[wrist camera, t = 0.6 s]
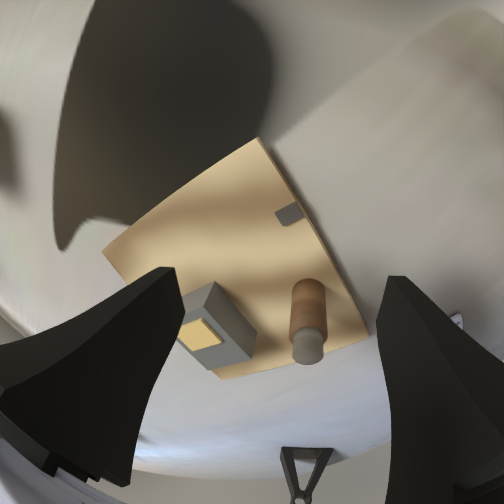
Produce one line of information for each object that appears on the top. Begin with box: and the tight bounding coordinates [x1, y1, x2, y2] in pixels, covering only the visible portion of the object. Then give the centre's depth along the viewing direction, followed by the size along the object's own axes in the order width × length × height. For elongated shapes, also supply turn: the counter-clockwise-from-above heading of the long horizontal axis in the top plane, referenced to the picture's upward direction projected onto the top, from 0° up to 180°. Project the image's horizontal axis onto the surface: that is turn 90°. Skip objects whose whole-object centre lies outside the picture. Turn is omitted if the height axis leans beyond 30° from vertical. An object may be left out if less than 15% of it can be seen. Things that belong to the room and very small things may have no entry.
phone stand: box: [280, 447, 333, 504], centre depth 34 cm, size 9×6×12 cm, turn 91°
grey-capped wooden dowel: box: [289, 278, 328, 365], centre depth 17 cm, size 2×2×6 cm
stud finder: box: [176, 281, 257, 370], centre depth 21 cm, size 6×4×3 cm
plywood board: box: [101, 137, 369, 380], centre depth 22 cm, size 18×16×1 cm
